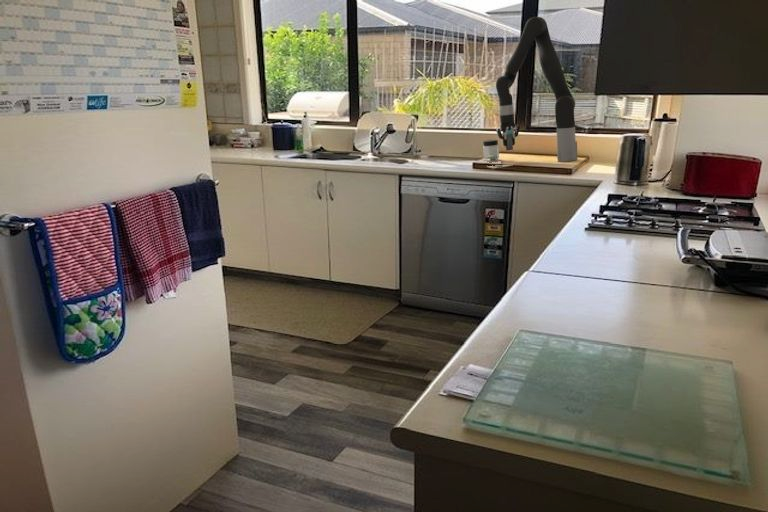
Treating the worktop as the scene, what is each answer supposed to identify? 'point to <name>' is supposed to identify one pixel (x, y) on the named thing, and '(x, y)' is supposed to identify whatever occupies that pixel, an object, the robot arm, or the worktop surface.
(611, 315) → the worktop surface
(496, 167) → the paper
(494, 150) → the jar
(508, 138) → the marker
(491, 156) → the button
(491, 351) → the worktop surface
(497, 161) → the button base
